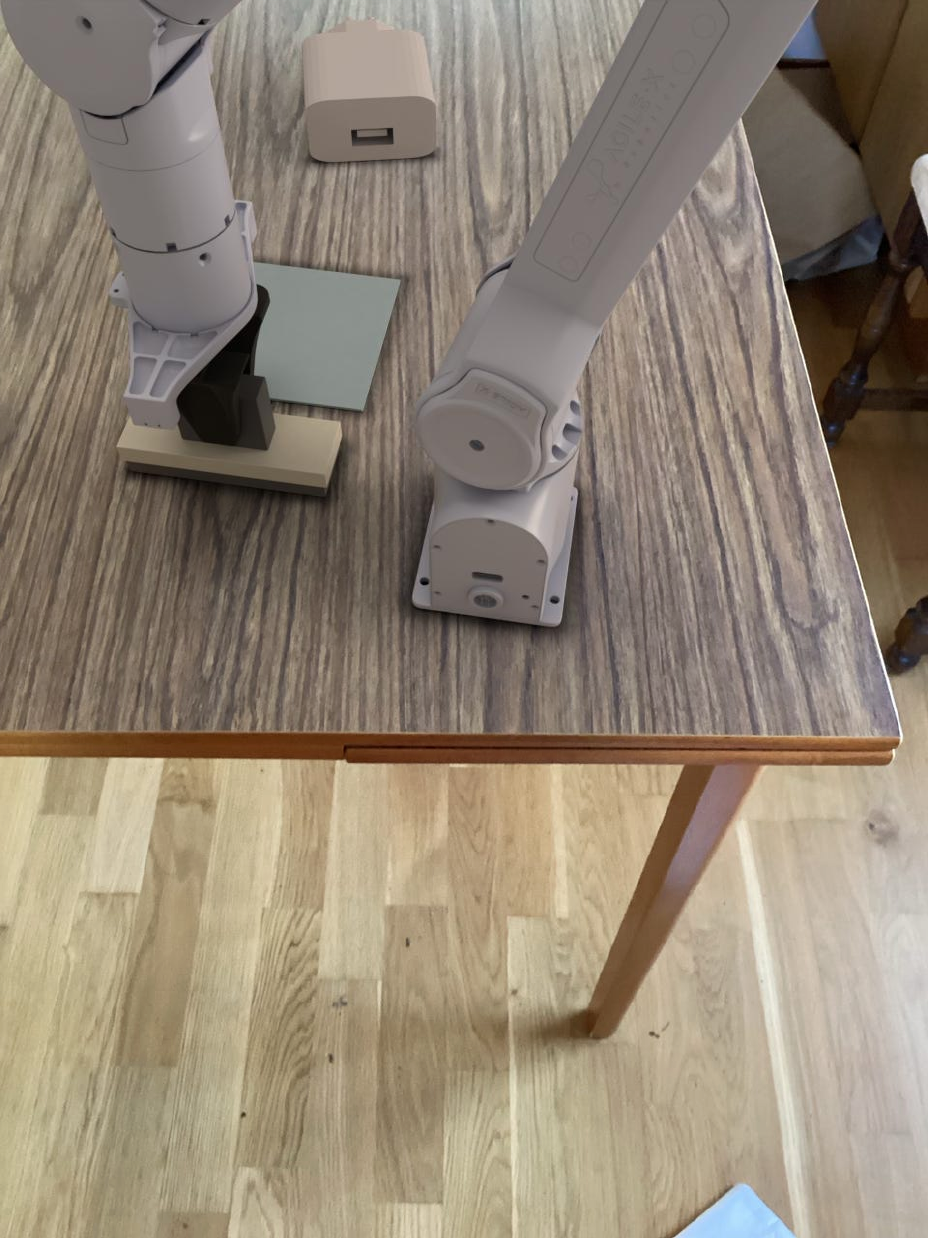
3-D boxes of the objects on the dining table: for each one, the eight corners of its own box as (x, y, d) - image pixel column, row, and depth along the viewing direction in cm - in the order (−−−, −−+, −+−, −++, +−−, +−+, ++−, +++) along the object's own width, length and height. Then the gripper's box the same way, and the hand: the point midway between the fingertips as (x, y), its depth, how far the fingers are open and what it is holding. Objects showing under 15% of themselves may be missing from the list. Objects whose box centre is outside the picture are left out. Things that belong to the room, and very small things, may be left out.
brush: (328, 499, 58) (316, 424, 53) (125, 472, 59) (94, 395, 54) (344, 447, 60) (334, 369, 55) (148, 421, 61) (120, 342, 56)
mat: (362, 412, 62) (362, 409, 62) (156, 385, 63) (155, 382, 63) (400, 281, 68) (400, 279, 68) (212, 259, 69) (211, 256, 69)
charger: (418, 46, 84) (436, 157, 76) (305, 52, 83) (311, 163, 75) (417, -15, 80) (435, 95, 72) (298, -10, 79) (303, 101, 71)
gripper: (138, 110, 50) (196, 326, 61) (23, 310, 42) (113, 514, 54) (279, 125, 49) (310, 340, 61) (188, 331, 42) (244, 532, 53)
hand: (226, 423), depth 57 cm, fingers closed on brush, 2 cm apart
